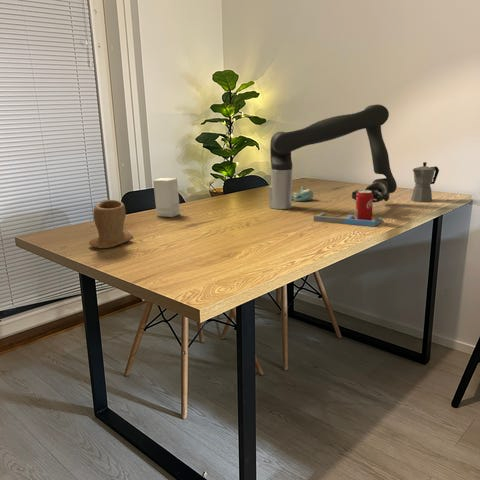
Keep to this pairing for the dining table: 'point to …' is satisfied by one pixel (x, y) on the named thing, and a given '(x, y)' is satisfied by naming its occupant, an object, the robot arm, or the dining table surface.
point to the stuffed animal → (303, 195)
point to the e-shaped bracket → (346, 220)
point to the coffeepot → (424, 183)
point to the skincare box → (166, 197)
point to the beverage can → (364, 205)
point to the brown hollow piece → (110, 224)
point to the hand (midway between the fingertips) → (366, 198)
